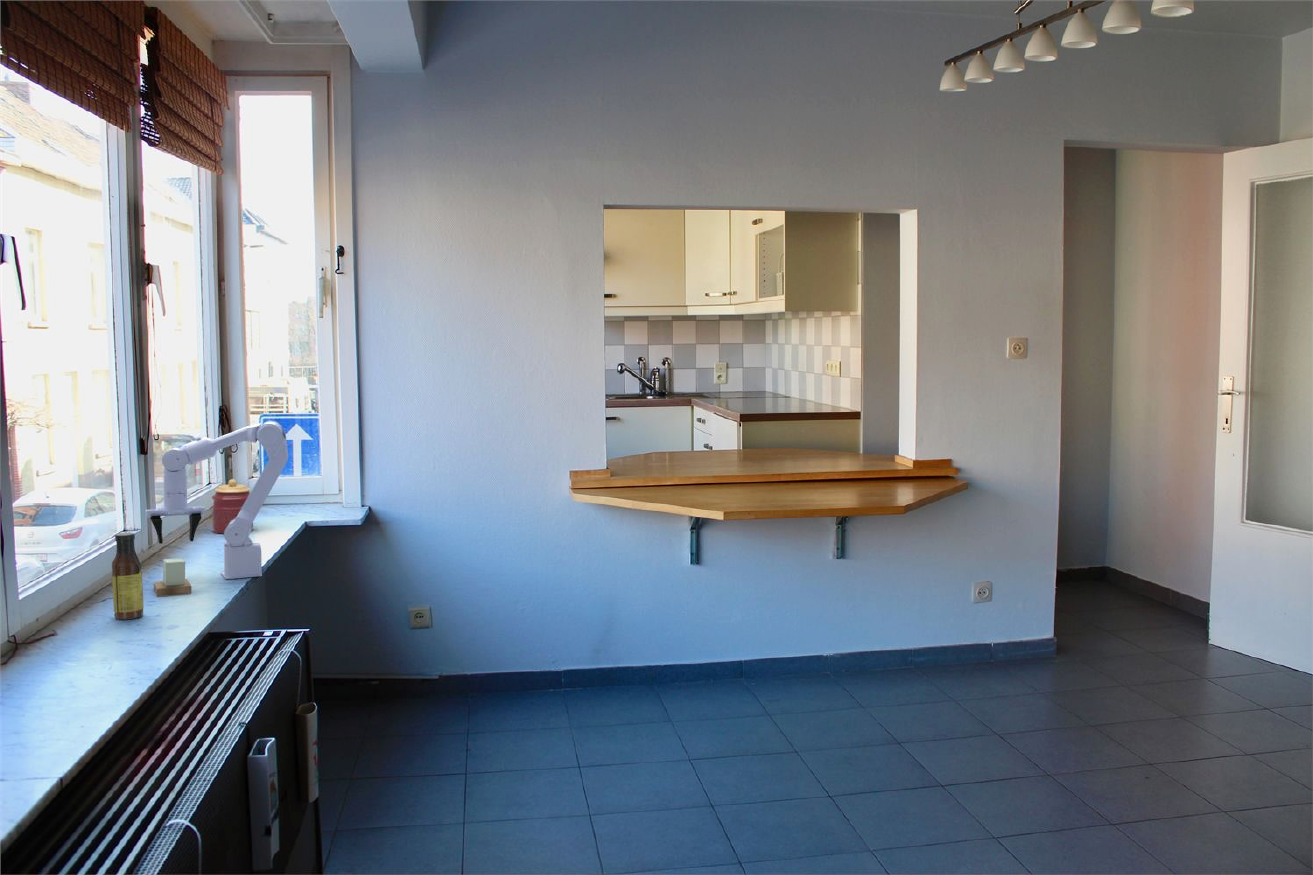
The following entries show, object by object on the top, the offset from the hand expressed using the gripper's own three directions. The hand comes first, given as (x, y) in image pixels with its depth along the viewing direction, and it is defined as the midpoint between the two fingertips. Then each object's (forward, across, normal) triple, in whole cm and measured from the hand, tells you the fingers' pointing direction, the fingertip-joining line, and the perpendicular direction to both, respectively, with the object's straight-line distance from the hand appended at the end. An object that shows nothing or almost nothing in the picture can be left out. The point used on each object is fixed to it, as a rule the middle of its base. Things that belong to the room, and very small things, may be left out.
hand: (176, 541), depth 274 cm
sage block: (+8, -3, -15) cm, 17 cm away
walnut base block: (+10, -3, -15) cm, 19 cm away
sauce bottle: (+10, -15, -36) cm, 40 cm away
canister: (+10, +26, +62) cm, 68 cm away
